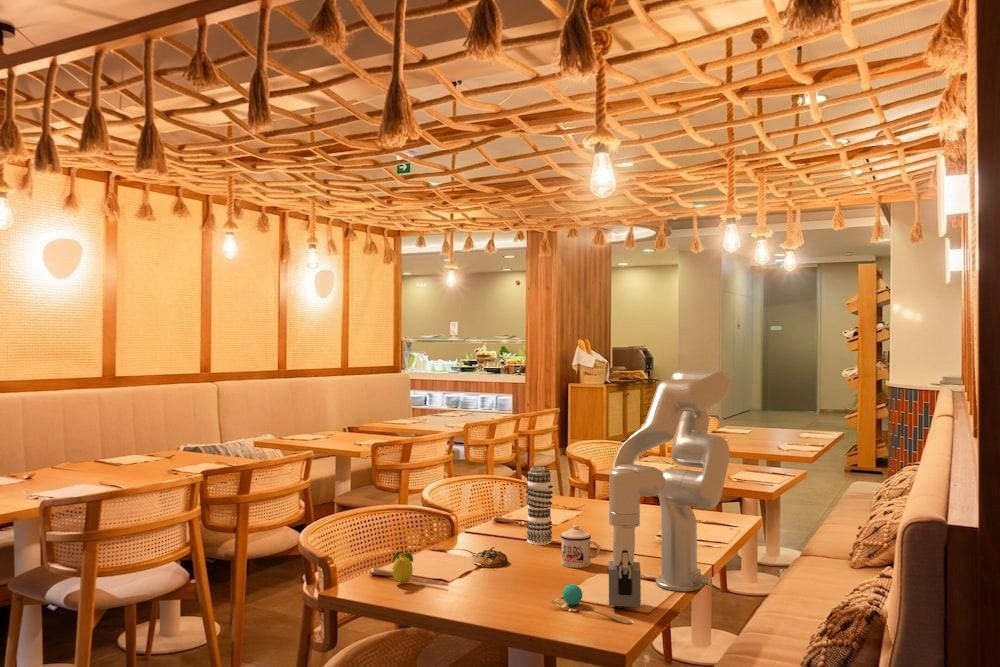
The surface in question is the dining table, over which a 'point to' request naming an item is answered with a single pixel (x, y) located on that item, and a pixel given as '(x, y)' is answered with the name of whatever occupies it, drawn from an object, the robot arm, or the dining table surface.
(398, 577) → the lemon
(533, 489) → the decorative candle
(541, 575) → the dining table surface
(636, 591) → the upright gray block
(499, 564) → the bread roll
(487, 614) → the dining table surface
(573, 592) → the ball
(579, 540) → the teacup with lid
